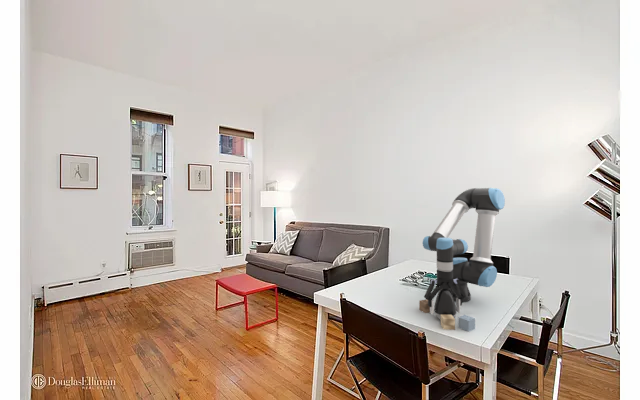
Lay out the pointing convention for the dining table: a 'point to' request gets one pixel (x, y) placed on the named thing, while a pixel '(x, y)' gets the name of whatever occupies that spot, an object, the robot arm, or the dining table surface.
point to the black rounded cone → (444, 304)
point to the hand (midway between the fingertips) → (445, 312)
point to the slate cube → (466, 323)
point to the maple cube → (447, 322)
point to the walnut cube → (424, 306)
